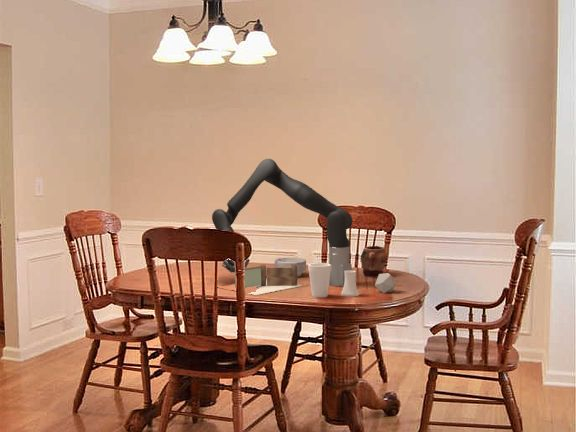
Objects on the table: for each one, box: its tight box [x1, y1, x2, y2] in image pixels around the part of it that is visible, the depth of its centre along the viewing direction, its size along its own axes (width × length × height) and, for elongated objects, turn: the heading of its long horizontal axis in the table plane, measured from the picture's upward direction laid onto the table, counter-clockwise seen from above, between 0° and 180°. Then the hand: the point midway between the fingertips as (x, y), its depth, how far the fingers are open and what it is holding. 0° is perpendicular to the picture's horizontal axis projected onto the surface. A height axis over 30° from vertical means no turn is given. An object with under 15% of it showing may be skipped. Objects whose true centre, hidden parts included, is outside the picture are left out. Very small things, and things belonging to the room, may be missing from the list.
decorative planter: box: [360, 245, 387, 278], centre depth 330 cm, size 20×12×14 cm, turn 168°
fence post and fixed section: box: [260, 264, 298, 286], centre depth 307 cm, size 16×2×9 cm, turn 90°
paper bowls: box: [274, 257, 307, 278], centre depth 333 cm, size 15×15×8 cm
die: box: [374, 272, 398, 294], centre depth 293 cm, size 8×9×10 cm
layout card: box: [245, 278, 304, 296], centre depth 306 cm, size 26×28×1 cm
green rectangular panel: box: [234, 265, 261, 289], centre depth 302 cm, size 13×2×9 cm, turn 128°
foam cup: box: [307, 262, 331, 298], centre depth 286 cm, size 10×9×13 cm
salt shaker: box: [340, 270, 360, 298], centre depth 287 cm, size 8×8×10 cm
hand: (241, 278), depth 301 cm, fingers closed
